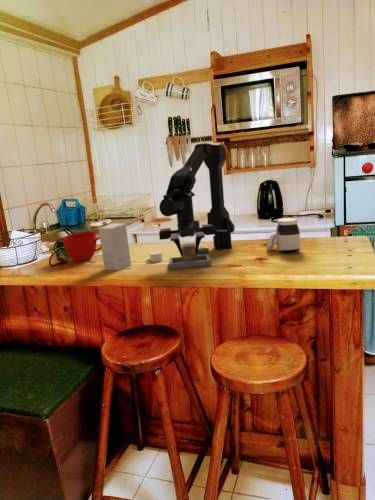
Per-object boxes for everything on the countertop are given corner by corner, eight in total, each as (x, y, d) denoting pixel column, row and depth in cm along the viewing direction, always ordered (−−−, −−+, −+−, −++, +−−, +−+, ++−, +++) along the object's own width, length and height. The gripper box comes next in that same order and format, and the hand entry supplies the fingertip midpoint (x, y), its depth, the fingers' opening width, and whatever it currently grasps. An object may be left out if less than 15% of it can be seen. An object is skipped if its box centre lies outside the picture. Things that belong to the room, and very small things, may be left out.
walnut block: (195, 256, 142) (194, 242, 140) (196, 259, 137) (194, 245, 136) (182, 257, 142) (181, 244, 140) (183, 261, 137) (181, 247, 136)
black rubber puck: (209, 255, 151) (208, 247, 150) (210, 258, 146) (209, 250, 146) (195, 256, 151) (195, 248, 150) (196, 259, 146) (195, 251, 145)
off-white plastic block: (160, 257, 155) (159, 250, 154) (162, 261, 149) (161, 253, 148) (150, 259, 154) (149, 251, 153) (151, 262, 148) (150, 254, 148)
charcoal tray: (209, 259, 144) (208, 254, 144) (211, 266, 135) (210, 260, 135) (170, 263, 144) (169, 257, 144) (169, 270, 135) (169, 264, 135)
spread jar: (302, 253, 140) (301, 220, 137) (270, 256, 140) (268, 223, 137) (294, 246, 151) (293, 215, 149) (264, 248, 152) (262, 218, 149)
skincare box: (118, 263, 151) (113, 222, 147) (132, 264, 147) (127, 222, 144) (103, 270, 144) (97, 227, 140) (117, 271, 141) (111, 227, 137)
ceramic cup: (100, 263, 154) (96, 237, 152) (60, 264, 158) (56, 240, 156) (113, 254, 167) (109, 231, 164) (75, 256, 170) (72, 233, 168)
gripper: (156, 217, 128) (161, 264, 131) (214, 211, 128) (218, 259, 131) (157, 212, 139) (162, 256, 142) (211, 207, 139) (215, 251, 142)
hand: (189, 256), depth 139 cm, fingers closed on walnut block, 4 cm apart
